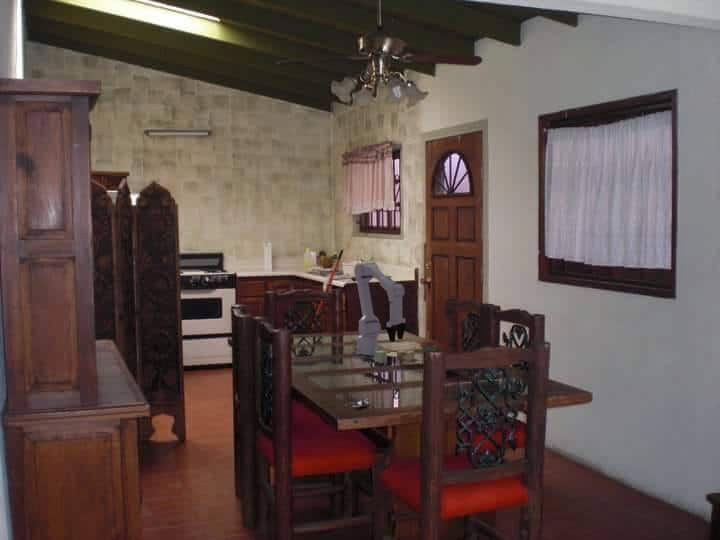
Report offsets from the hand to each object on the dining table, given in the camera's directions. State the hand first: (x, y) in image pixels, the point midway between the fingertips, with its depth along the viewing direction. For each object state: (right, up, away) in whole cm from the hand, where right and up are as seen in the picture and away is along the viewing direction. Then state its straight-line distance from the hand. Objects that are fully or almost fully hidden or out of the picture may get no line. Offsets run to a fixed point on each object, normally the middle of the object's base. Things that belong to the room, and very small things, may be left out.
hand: (396, 340), depth 358 cm
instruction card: (-2, -8, +17) cm, 19 cm away
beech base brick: (+5, -9, +5) cm, 11 cm away
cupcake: (+16, -8, +16) cm, 24 cm away
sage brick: (-7, -10, -1) cm, 12 cm away
